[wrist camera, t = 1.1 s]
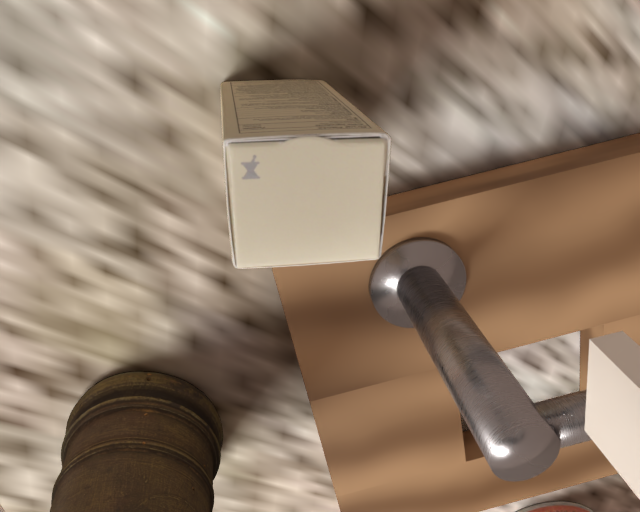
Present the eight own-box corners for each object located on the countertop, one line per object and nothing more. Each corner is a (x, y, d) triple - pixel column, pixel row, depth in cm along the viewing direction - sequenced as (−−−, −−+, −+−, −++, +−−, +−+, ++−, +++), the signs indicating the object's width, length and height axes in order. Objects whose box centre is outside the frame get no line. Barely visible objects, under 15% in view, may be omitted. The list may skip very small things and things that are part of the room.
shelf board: (263, 227, 29) (265, 246, 27) (662, 127, 30) (696, 137, 27) (344, 516, 39) (350, 546, 37) (637, 436, 40) (660, 461, 38)
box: (225, 169, 27) (222, 272, 17) (219, 78, 25) (212, 136, 15) (330, 166, 28) (384, 264, 18) (332, 77, 26) (394, 132, 16)
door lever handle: (361, 250, 28) (443, 417, 17) (539, 205, 28) (731, 341, 17) (376, 331, 30) (458, 524, 19) (541, 288, 30) (712, 454, 19)
